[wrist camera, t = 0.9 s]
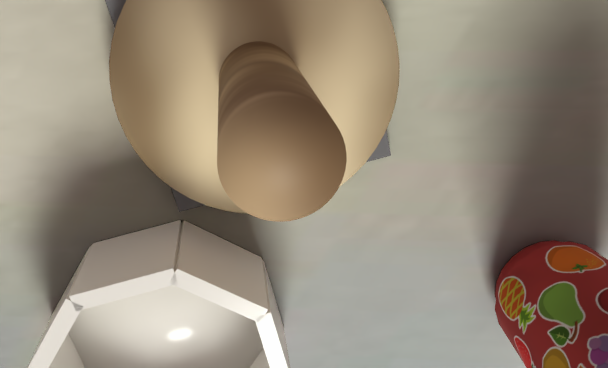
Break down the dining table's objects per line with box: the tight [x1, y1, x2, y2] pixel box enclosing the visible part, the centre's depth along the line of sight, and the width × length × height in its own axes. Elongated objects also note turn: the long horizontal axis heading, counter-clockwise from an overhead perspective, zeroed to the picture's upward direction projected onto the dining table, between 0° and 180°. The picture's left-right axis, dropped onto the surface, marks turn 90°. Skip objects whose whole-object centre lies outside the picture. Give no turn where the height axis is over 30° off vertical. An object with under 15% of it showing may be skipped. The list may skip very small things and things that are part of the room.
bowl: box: [27, 220, 290, 368], centre depth 30 cm, size 12×12×5 cm
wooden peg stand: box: [109, 0, 399, 221], centre depth 22 cm, size 13×13×12 cm
